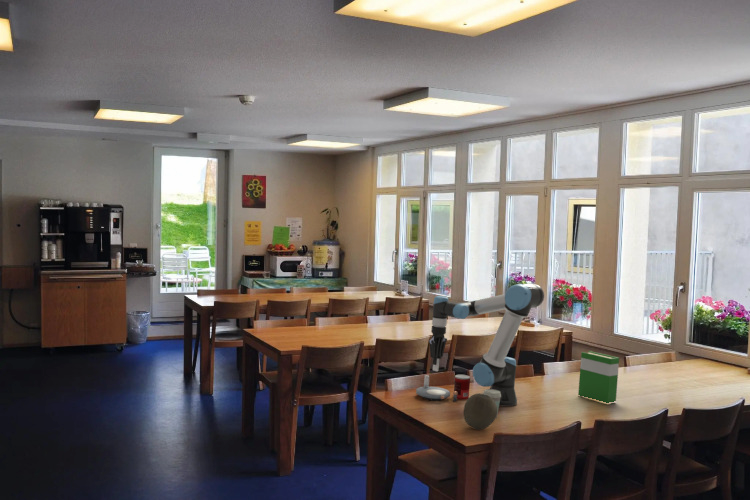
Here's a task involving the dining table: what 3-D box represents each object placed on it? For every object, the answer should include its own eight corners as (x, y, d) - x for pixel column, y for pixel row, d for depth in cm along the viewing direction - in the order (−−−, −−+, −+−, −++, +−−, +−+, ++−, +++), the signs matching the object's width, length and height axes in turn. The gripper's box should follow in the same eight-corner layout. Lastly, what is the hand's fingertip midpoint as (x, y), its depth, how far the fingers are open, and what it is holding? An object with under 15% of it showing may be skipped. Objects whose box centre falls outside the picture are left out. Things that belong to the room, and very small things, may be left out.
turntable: (457, 395, 324) (458, 380, 324) (436, 400, 312) (437, 385, 312) (430, 387, 337) (431, 373, 336) (409, 392, 325) (410, 377, 324)
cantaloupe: (484, 436, 270) (486, 400, 269) (456, 427, 279) (458, 393, 279) (501, 429, 280) (503, 395, 280) (474, 421, 290) (476, 388, 289)
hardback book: (578, 396, 346) (581, 352, 345) (586, 394, 350) (589, 351, 349) (607, 405, 332) (611, 358, 331) (615, 403, 336) (619, 357, 335)
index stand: (457, 401, 321) (458, 391, 320) (444, 405, 313) (445, 394, 313) (431, 393, 332) (432, 383, 332) (418, 397, 325) (419, 386, 325)
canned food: (470, 396, 331) (471, 375, 331) (467, 400, 324) (468, 379, 323) (455, 394, 334) (456, 373, 333) (452, 398, 326) (453, 376, 326)
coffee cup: (479, 413, 302) (480, 388, 302) (496, 414, 303) (498, 389, 302) (483, 419, 294) (485, 393, 293) (501, 420, 294) (503, 394, 294)
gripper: (441, 323, 343) (437, 367, 344) (425, 325, 333) (421, 370, 334) (452, 326, 337) (448, 370, 339) (436, 328, 328) (433, 373, 329)
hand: (435, 370), depth 337 cm, fingers closed
